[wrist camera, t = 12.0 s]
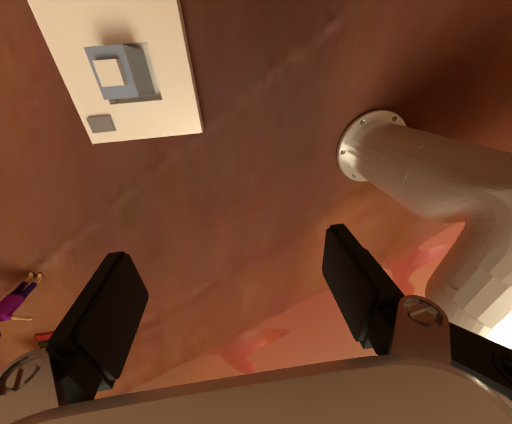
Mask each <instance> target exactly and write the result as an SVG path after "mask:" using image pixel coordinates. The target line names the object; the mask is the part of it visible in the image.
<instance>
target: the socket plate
mask: <svg viewBox="0 0 512 424" xmlns="http://www.w3.org/2000/svg"><path fill="white" fill-rule="evenodd" d="M27 1H28V3H29V5H30V8H31V10H32V12H33V14H34V16H35V19H36V21H37V23H38V25H39V27H40V30H41V32H42V34H43V36H44V38H45V41H46V43H47V45H48V47H49V49H50V52H51V54H52V56H53V58H54V60H55V63H56V65H57V67H58V69H59V71H60V74H61V76H62V78H63V80H64V82H65V84H66V87H67V89H68V91H69V93H70V95H71V98H72V100H73V102H74V104H75V106H76V109H77V111H78V113H79V115H80V117H81V120H82V122H83V124H84V126H85V128H86V131H87V133H88V135H89V137H90V139H91V142H92V144H95V143H105V142H115V141H125V140H135V139H145V138H154V137H164V136H174V135H184V134H194V133H202V132H203V130H204V126H203V121H202V115H201V110H200V105H199V99H198V94H197V89H196V84H195V78H194V73H193V68H192V62H191V57H190V52H189V47H188V41H187V36H186V31H185V25H184V20H183V15H182V10H181V4H180V0H27ZM118 44H124V45H127V46H130V47H133V48H135V49H138V50H141V51H144V54H145V57H146V61H147V65H148V68H149V72H150V76H151V79H152V83H153V86H154V90H155V94H151V95H146V96H141V97H132V98H121V99H110V100H104V98H103V96H102V93H101V91H100V88H99V86H98V83H97V80H96V78H95V75H94V73H93V70H92V68H91V65H90V62H89V60H88V57H87V55H86V52H85V49H84V47H92V46H105V45H118Z"/></svg>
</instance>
